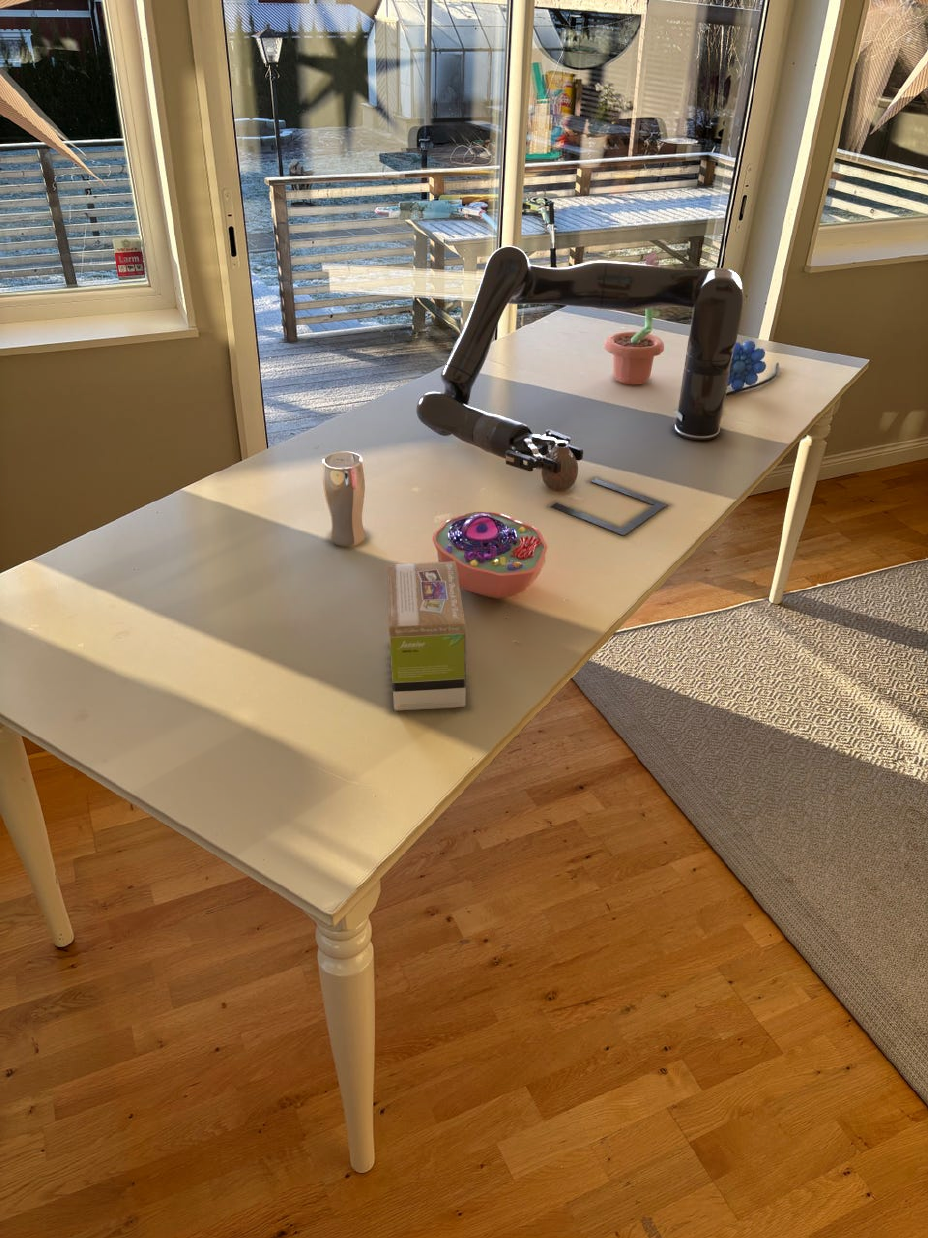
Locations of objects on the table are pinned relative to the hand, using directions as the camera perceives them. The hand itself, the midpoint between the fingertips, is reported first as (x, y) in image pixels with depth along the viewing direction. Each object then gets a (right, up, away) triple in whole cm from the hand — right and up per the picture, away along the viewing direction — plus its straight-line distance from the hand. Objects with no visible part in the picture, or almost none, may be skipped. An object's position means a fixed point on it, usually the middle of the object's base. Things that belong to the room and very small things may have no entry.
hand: (570, 461), depth 174 cm
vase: (-2, -4, +5) cm, 7 cm away
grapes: (+44, +25, +46) cm, 68 cm away
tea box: (-25, -38, -42) cm, 62 cm away
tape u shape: (+7, -9, -1) cm, 11 cm away
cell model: (-16, -24, -23) cm, 37 cm away
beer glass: (-40, -16, -11) cm, 45 cm away
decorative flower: (+20, +28, +50) cm, 61 cm away
